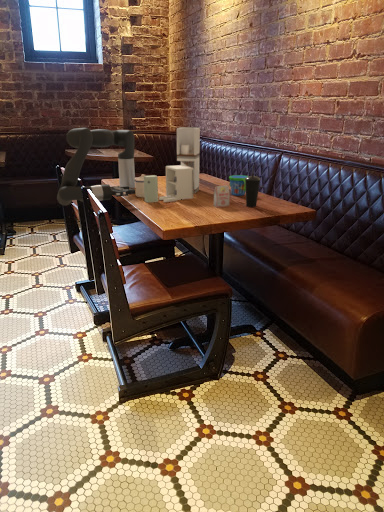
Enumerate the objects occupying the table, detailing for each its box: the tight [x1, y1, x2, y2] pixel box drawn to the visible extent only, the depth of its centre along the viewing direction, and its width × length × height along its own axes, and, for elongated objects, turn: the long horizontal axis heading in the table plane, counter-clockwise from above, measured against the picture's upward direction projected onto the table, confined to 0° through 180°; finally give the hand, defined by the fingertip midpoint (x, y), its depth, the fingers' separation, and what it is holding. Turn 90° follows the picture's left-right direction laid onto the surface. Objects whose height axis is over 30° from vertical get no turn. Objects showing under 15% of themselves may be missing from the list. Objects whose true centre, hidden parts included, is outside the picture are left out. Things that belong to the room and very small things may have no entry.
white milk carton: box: [213, 185, 230, 208], centre depth 198 cm, size 4×7×10 cm, turn 108°
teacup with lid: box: [135, 174, 146, 198], centre depth 221 cm, size 12×9×12 cm
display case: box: [176, 127, 201, 194], centre depth 229 cm, size 11×11×35 cm
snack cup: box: [228, 174, 249, 196], centre depth 224 cm, size 16×10×10 cm
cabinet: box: [158, 164, 194, 203], centre depth 214 cm, size 15×18×16 cm
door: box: [144, 174, 159, 204], centre depth 206 cm, size 5×6×13 cm
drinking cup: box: [245, 165, 261, 208], centre depth 197 cm, size 8×8×20 cm
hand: (132, 189), depth 202 cm, fingers open, 8 cm apart
